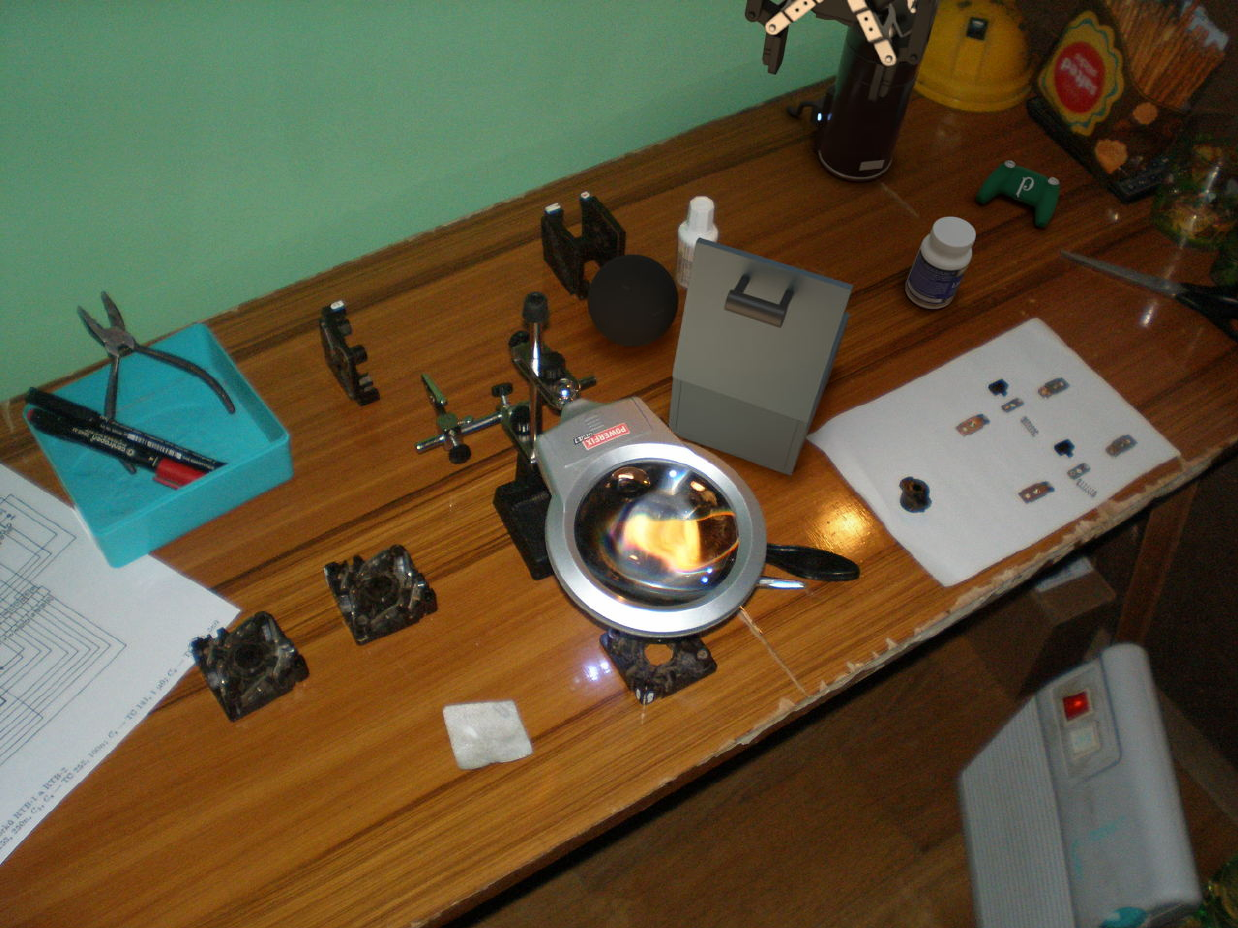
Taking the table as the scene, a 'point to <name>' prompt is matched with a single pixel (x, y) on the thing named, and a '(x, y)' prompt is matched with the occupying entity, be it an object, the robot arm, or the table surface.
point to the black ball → (633, 300)
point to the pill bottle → (941, 263)
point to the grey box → (743, 422)
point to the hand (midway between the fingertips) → (823, 81)
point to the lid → (758, 328)
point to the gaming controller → (1022, 189)
